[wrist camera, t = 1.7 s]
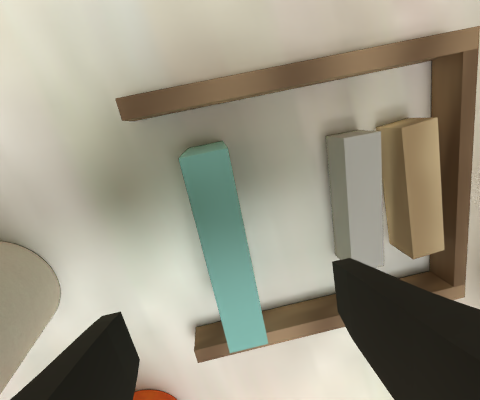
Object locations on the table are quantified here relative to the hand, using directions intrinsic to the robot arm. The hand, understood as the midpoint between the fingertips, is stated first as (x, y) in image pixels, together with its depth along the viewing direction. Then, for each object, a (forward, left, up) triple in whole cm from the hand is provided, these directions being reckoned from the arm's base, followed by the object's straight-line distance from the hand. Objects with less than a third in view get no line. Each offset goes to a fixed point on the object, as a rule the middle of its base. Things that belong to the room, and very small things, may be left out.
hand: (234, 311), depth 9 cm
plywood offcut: (-12, 0, -8) cm, 14 cm away
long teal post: (0, 0, -8) cm, 8 cm away
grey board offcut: (-8, 0, -8) cm, 12 cm away
